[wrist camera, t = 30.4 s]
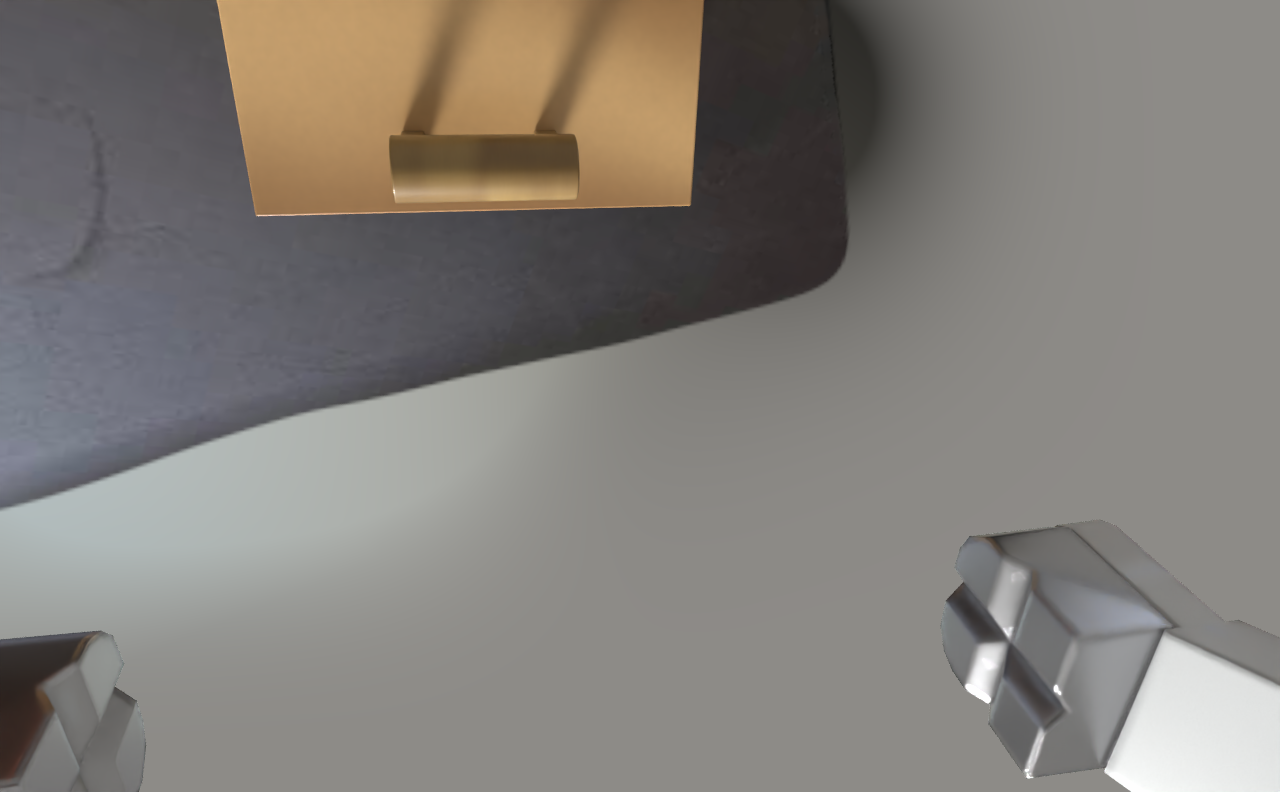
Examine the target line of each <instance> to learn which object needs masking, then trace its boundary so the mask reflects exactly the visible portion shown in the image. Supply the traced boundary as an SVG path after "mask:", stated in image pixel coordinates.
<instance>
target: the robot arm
mask: <svg viewBox="0 0 1280 792" xmlns="http://www.w3.org/2000/svg"><path fill="white" fill-rule="evenodd" d="M955 569H956V570H957V572H958V574H959V575H960V577H961V578H962V580H963V583H962V584H961V585H960V586H959V587H958V588H957V589H956V590H955V591H954V593H953V594H952V595H951V596H950V597H949V598H948V599H947V600H946V603H945V607H944V612H943V617H942V621H941V631H942V638H943V646H944V652H945V654H946V657H947V659H948V661H949V664H950V666H951V669H952V671H953V672H954V674H955V675H956V677H957V678H958V680H959V681H960V683H961V684H962V686H963V687H964V689H965V690H967V691H968V692H970V693H972V694H974V695H975V696H977V697H978V698H980V699H982V700H984V701H985V702H987V703H989V704H990V713H989V725H990V727H991V728H992V730H993V731H994V732H995V734H996V735H997V737H998V738H999V739H1000V741H1001V742H1002V744H1003V745H1004V747H1005V748H1006V750H1007V751H1008V753H1009V754H1010V755H1011V757H1012V758H1013V760H1014V761H1015V762H1016V764H1017V765H1018V767H1019V768H1020V770H1021V771H1022V772H1023V774H1024V775H1025V777H1026V778H1034V777H1041V776H1049V775H1055V774H1063V773H1070V772H1077V771H1085V770H1092V769H1099V768H1106V769H1105V771H1104V772H1105V773H1106V774H1108V775H1109V776H1110V777H1112V778H1113V779H1115V780H1116V781H1117V782H1119V783H1120V784H1122V785H1123V786H1125V787H1126V788H1127V789H1129V790H1130V791H1131V792H1280V638H1279V637H1277V636H1275V635H1273V634H1270V633H1268V632H1266V631H1263V630H1261V629H1259V628H1256V627H1254V626H1251V625H1249V624H1247V623H1244V622H1242V621H1240V620H1235V621H1228V622H1225V621H1224V620H1223V619H1222V618H1221V617H1219V616H1218V615H1217V614H1216V613H1215V612H1214V611H1212V610H1211V609H1210V608H1209V607H1208V606H1207V605H1206V604H1205V603H1203V602H1202V601H1201V600H1200V599H1199V598H1198V597H1197V596H1195V595H1194V594H1193V593H1192V592H1191V591H1190V590H1189V589H1188V588H1186V587H1185V586H1184V585H1183V584H1182V583H1180V581H1178V580H1177V579H1176V578H1175V577H1174V576H1173V575H1172V574H1170V573H1169V572H1168V571H1167V570H1166V569H1165V568H1164V567H1162V566H1161V565H1160V564H1159V563H1158V562H1157V561H1156V560H1154V559H1153V558H1152V557H1151V556H1150V555H1149V554H1147V552H1145V551H1144V550H1143V549H1142V548H1141V547H1140V546H1139V545H1138V544H1136V543H1135V542H1134V541H1133V540H1132V539H1131V538H1130V537H1128V536H1127V535H1126V534H1125V533H1124V532H1123V531H1122V530H1121V529H1119V528H1118V527H1117V526H1115V525H1113V524H1110V523H1108V522H1105V521H1103V520H1093V521H1085V522H1079V523H1070V524H1062V525H1057V526H1055V527H1045V528H1037V529H1028V530H1020V531H1011V532H1003V533H994V534H986V535H977V536H969V538H968V539H967V540H966V542H965V543H964V544H963V545H962V546H961V548H960V550H959V554H958V557H957V561H956V565H955ZM123 665H124V662H123V660H122V658H121V655H120V652H119V650H118V647H117V645H116V642H115V640H114V637H113V635H110V634H108V633H105V632H102V631H92V632H82V633H69V634H58V635H47V636H35V637H24V638H12V639H1V640H0V792H139V789H140V786H141V783H142V778H143V769H144V760H145V750H146V742H145V733H144V725H143V719H142V716H141V713H140V710H139V707H138V704H137V701H136V700H134V699H133V698H132V697H130V696H128V695H127V694H125V693H124V692H122V691H120V690H119V689H117V688H116V687H115V685H116V682H117V680H118V677H119V675H120V672H121V670H122V667H123Z"/></svg>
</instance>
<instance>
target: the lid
mask: <svg viewBox="0 0 1280 792" xmlns="http://www.w3.org/2000/svg"><path fill="white" fill-rule="evenodd" d="M217 4H218V9H219V15H220V20H221V26H222V31H223V37H224V42H225V48H226V53H227V59H228V65H229V70H230V76H231V81H232V87H233V92H234V98H235V103H236V109H237V114H238V120H239V125H240V131H241V137H242V142H243V148H244V153H245V159H246V164H247V170H248V175H249V181H250V186H251V192H252V197H253V203H254V208H255V214H256V216H283V215H324V214H365V213H406V212H448V211H489V210H530V209H571V208H612V207H654V206H689V205H691V196H692V180H693V165H694V150H695V134H696V119H697V103H698V88H699V73H700V57H701V42H702V27H703V11H704V0H217Z"/></svg>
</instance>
